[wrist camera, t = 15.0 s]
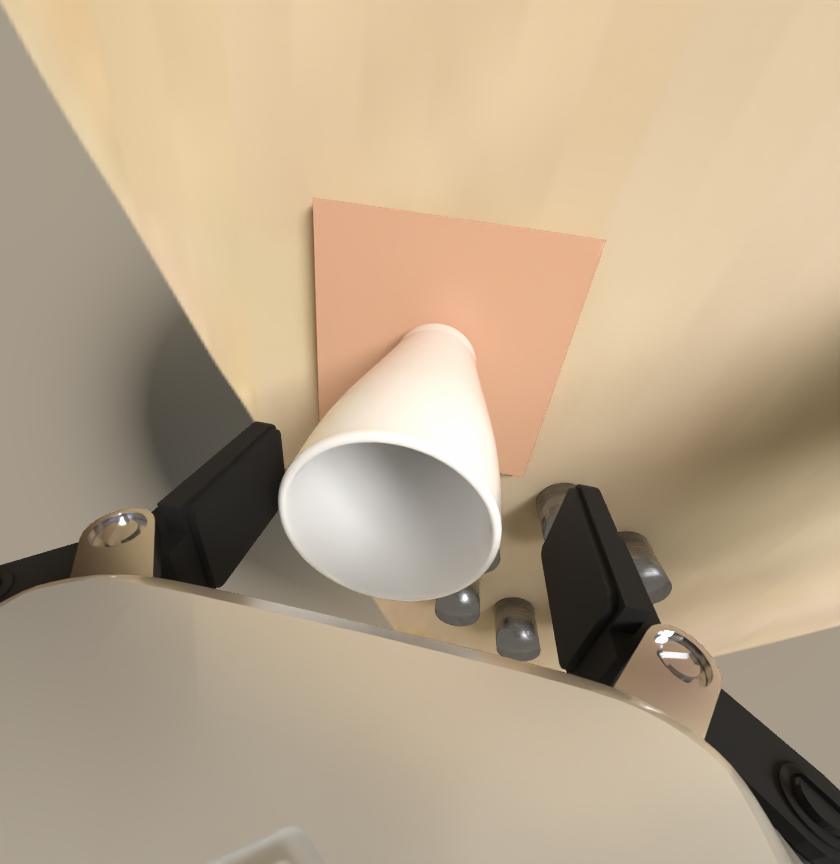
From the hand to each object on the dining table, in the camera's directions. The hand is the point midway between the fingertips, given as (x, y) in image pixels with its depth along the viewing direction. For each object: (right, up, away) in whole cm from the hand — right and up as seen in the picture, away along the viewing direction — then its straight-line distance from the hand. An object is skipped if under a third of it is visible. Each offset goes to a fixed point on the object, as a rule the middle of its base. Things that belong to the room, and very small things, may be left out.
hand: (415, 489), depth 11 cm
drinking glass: (+1, +7, +12) cm, 14 cm away
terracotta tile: (+1, +7, +12) cm, 14 cm away
